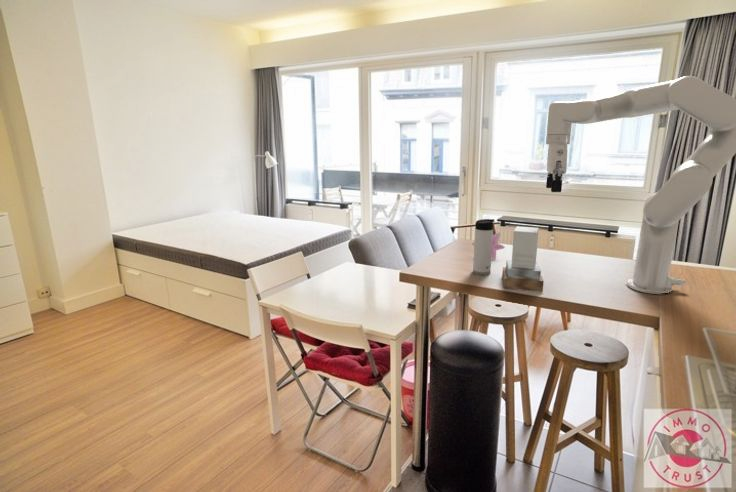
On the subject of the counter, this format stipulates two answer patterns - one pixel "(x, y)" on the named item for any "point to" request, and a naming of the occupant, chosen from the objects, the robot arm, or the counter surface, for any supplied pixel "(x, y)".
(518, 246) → the supplement box
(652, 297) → the counter surface
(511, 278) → the brown napkin holder
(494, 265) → the counter surface
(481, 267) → the travel mug
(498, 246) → the lily
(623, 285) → the counter surface
